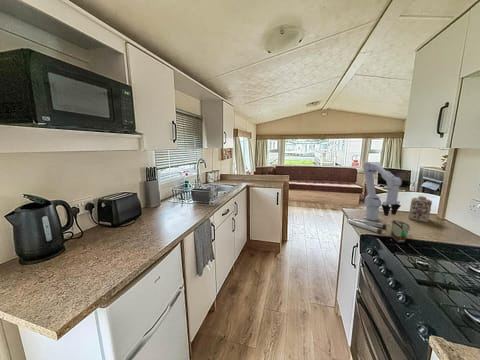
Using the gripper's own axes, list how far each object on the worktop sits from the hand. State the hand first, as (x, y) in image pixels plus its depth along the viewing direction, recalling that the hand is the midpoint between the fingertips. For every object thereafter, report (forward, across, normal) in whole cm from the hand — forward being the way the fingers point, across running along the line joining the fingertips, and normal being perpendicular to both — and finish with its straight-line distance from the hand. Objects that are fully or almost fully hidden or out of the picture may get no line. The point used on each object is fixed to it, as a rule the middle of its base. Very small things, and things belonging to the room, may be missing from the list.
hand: (389, 215), depth 139 cm
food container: (+10, -11, -15) cm, 21 cm away
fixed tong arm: (+9, -16, +6) cm, 20 cm away
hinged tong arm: (+9, -10, +8) cm, 16 cm away
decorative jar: (+9, +43, +5) cm, 44 cm away
